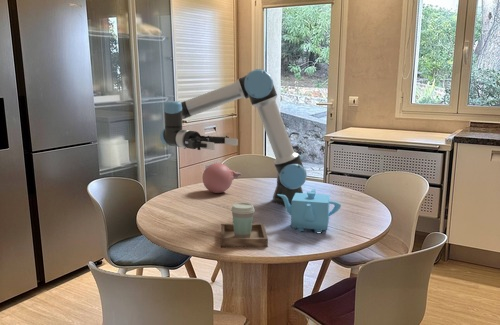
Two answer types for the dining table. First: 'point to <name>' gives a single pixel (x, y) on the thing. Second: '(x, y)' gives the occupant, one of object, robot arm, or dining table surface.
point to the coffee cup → (242, 219)
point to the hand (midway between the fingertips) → (225, 144)
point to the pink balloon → (218, 177)
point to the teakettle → (310, 210)
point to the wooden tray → (255, 240)
